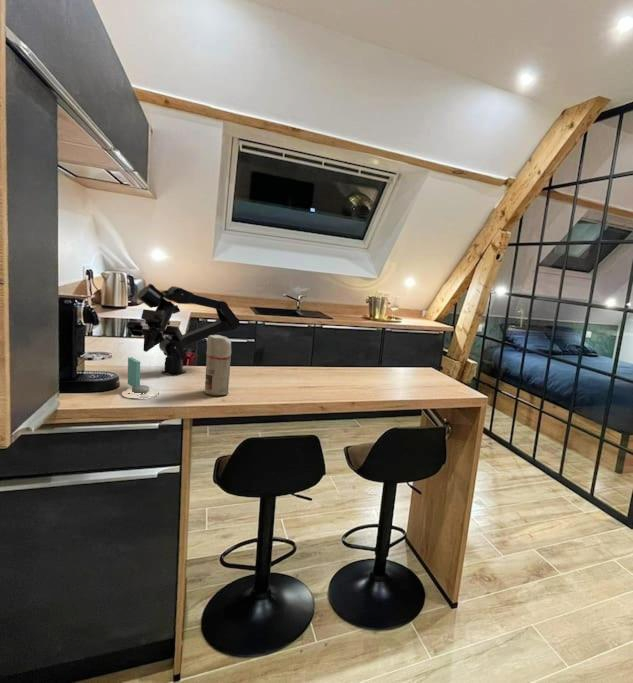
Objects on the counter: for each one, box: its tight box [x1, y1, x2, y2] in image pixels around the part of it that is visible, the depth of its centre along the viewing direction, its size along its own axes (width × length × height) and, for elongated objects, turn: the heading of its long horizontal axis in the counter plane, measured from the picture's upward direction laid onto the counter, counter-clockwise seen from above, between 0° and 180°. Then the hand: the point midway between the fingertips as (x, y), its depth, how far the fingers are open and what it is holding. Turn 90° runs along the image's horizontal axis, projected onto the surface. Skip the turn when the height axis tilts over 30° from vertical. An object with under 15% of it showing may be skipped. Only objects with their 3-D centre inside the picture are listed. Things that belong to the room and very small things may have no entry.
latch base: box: [128, 386, 160, 398], centre depth 129 cm, size 11×11×1 cm
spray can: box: [203, 334, 232, 397], centre depth 135 cm, size 8×8×20 cm
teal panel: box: [127, 356, 149, 393], centre depth 130 cm, size 11×5×9 cm, turn 47°
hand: (144, 351), depth 136 cm, fingers closed
